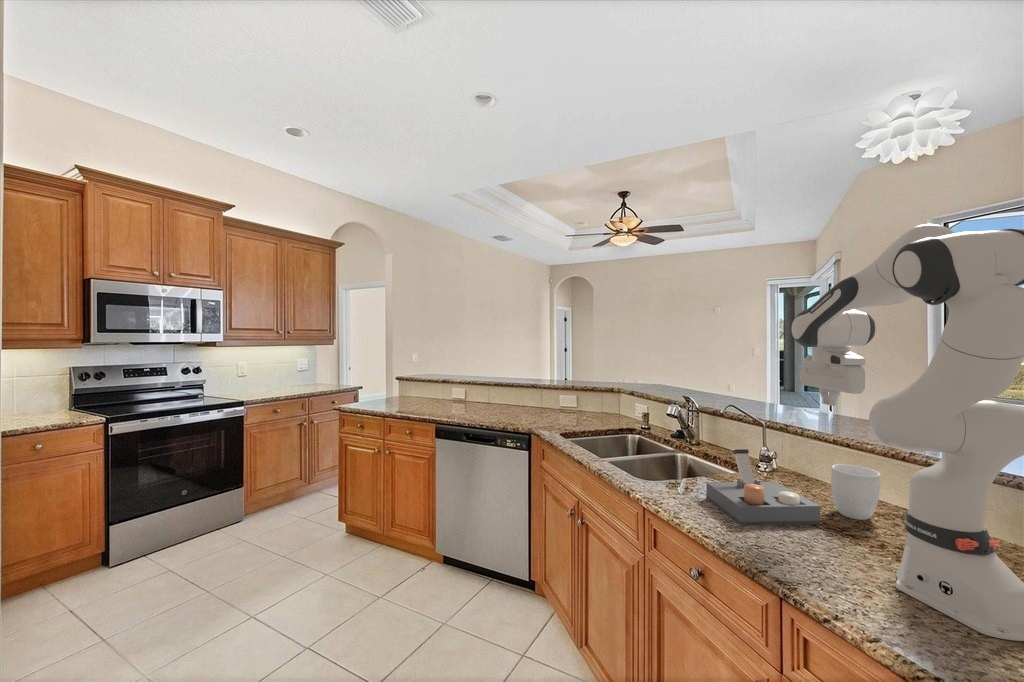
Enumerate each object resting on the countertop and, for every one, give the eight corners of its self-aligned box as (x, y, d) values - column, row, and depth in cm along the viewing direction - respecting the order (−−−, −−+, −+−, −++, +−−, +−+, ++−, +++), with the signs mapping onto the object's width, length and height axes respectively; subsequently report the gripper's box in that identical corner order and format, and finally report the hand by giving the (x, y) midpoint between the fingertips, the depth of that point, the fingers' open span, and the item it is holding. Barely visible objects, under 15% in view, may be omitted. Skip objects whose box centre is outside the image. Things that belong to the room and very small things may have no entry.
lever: (756, 485, 134) (748, 449, 139) (743, 486, 134) (735, 449, 139) (753, 486, 136) (745, 450, 140) (741, 486, 136) (733, 450, 140)
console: (819, 524, 121) (820, 498, 121) (740, 525, 120) (741, 499, 120) (775, 497, 140) (775, 475, 140) (706, 498, 139) (706, 476, 139)
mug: (840, 501, 137) (842, 459, 137) (886, 513, 129) (888, 468, 128) (824, 514, 128) (826, 468, 127) (873, 527, 119) (874, 479, 119)
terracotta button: (768, 508, 122) (768, 489, 121) (750, 508, 121) (750, 490, 121) (757, 500, 127) (757, 483, 126) (740, 501, 126) (740, 483, 126)
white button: (803, 515, 122) (804, 497, 122) (785, 516, 122) (786, 498, 122) (791, 508, 127) (791, 491, 127) (774, 508, 127) (774, 491, 127)
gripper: (794, 354, 138) (793, 399, 139) (848, 359, 118) (846, 411, 118) (814, 354, 139) (812, 399, 139) (870, 359, 118) (869, 411, 119)
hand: (828, 405), depth 128 cm, fingers closed
